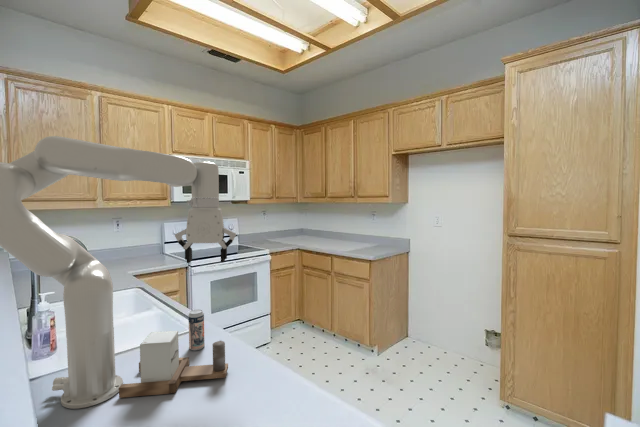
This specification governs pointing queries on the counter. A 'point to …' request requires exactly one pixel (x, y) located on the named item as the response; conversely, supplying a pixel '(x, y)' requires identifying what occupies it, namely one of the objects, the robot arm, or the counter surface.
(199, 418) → the counter surface
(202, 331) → the beer can
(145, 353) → the supplement box
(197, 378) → the wooden cross board
